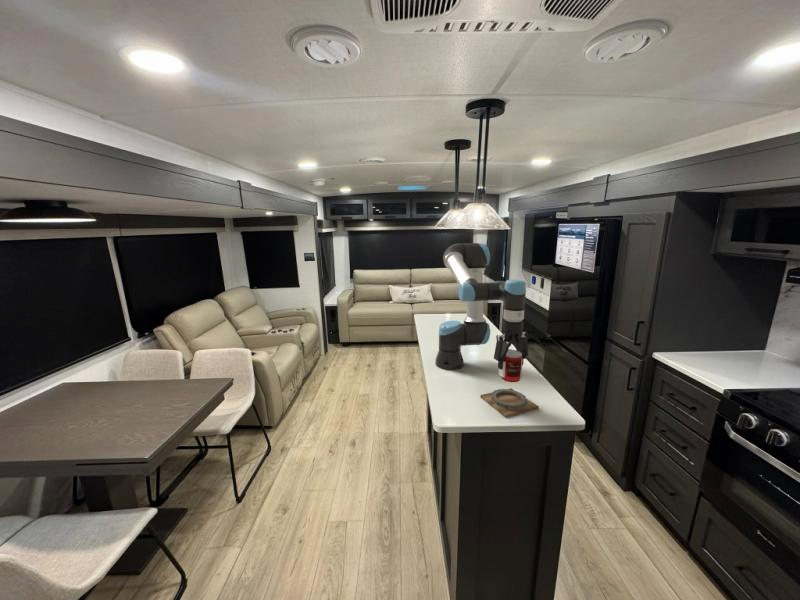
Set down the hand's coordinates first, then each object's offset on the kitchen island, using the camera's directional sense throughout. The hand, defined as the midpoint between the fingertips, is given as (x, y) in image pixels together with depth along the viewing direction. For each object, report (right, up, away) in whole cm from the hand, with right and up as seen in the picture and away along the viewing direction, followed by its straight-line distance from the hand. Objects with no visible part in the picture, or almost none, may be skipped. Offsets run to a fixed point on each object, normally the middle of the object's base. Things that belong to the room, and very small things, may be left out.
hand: (510, 374), depth 121 cm
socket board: (0, -12, +3) cm, 13 cm away
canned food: (0, -2, 0) cm, 2 cm away
